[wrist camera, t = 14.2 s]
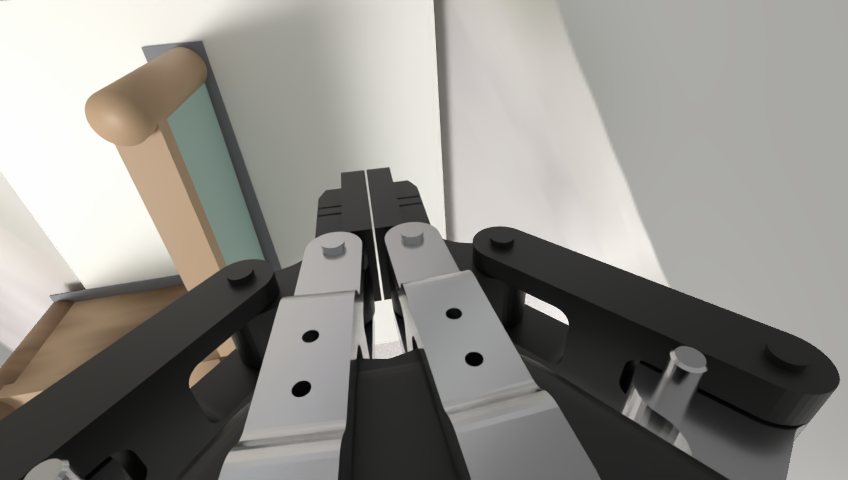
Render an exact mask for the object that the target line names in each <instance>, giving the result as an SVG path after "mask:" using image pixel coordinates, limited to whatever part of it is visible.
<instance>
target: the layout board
mask: <svg viewBox="0 0 848 480" xmlns="http://www.w3.org/2000/svg"><path fill="white" fill-rule="evenodd" d="M175 47H184V48H188V49H191V50H193V51H194V52H196V53H197V54H198V55H199V56H200V57H201V58H202V59H203V61H204V62H205V64H206V67H207V79H206V81H205V85H206V88H207V91H208V94H209V97H210V99H211V102H212V105H213V108H214V111H215V114H216V117H217V120H218V123H219V126H220V129H221V132H222V135H223V138H224V141H225V144H226V147H227V150H228V153H229V156H230V158H231V161H232V164H233V167H234V170H235V173H236V176H237V179H238V182H239V185H240V188H241V191H242V194H243V197H244V200H245V203H246V206H247V209H248V212H249V214H250V217H251V220H252V223H253V226H254V229H255V232H256V235H257V238H258V241H259V244H260V247H261V250H262V253H263V256H264V259H265V261H267V262H268V263H270V264H271V265H272V267H273V270H274V272H275V271H277V270H280V269H283V268H286V267H289V266H292V265H294V264H296V263H298V262H300V261H302V260H303V256H304V252H305V249H306V247H307V245H308V244H309V243H310V242H311V241H312V240H314V239H315V233H316V221H317V210H318V199H319V197H320V196H321V195H322V194H323V193H324V192H325V191H326V190H331V189H339V188H341V173H342V172H351V171H360V170H364V172H365V179H366V186H367V193H368V200H369V207H370V215H371V222H372V229H373V237H374V245H375V252H376V260H377V268H378V275H379V283H380V291H381V298H382V301H375V302H374V303H375V314H374V321H375V345H378V344H383V343H389V342H394V341H400V340H399V336H398V332H397V329H396V325H395V320H394V312H393V305H392V299H388V300H384V295H383V288H382V280H381V273H380V266H379V259H378V251H377V244H376V237H375V229H374V222H373V215H372V207H371V200H370V193H369V185H368V178H367V171H366V170H368V169H376V168H385V167H389V168H390V172H391V175H392V179H393V182H397V181H406V180H408V181H410V182H411V183H413V184H414V185H415V186H417V188H418V191H419V193H420V197H421V199H422V202H423V205H424V207H425V210H426V213H427V216H428V219H429V222H430V224H431V225H432V226H434V227H435V228H436V229H437V230H438V231H439V233H440V235H441V236H442V238H443V239H445V240H446V225H445V207H444V188H443V170H442V151H441V132H440V114H439V95H438V77H437V58H436V40H435V21H434V2H433V0H2V1H0V171H1V172H2V173H3V175H4V176H5V178H6V179H7V180H8V182H9V183H10V185H11V186H12V187H13V189H14V190H15V191H16V193H17V194H18V196H19V197H20V198H21V200H22V201H23V203H24V204H25V205H26V207H27V208H28V209H29V211H30V212H31V214H32V215H33V216H34V218H35V219H36V221H37V222H38V223H39V225H40V226H41V228H42V229H43V230H44V232H45V233H46V234H47V236H48V237H49V239H50V240H51V241H52V243H53V244H54V246H55V247H56V248H57V250H58V251H59V252H60V254H61V255H62V257H63V258H64V259H65V261H66V262H67V264H68V265H69V266H70V268H71V269H72V271H73V272H74V273H75V275H76V276H77V277H78V279H79V280H80V282H81V283H82V284H83V286H84V287H85V289H86V290H80V291H73V292H67V293H61V294H55V295H50V298H51V299H52V300H53V301H54V302H56V301H59V300H71V301H74V302H77V301H83V300H90V299H96V298H102V297H108V296H114V295H121V294H127V293H133V292H139V291H145V290H151V289H158V288H164V287H170V286H176V285H182V284H184V283H183V281H182V279H181V277H180V275H179V273H178V271H177V269H176V267H175V265H174V263H173V261H172V259H171V257H170V255H169V253H168V251H167V249H166V247H165V245H164V243H163V241H162V239H161V237H160V235H159V233H158V231H157V229H156V227H155V225H154V223H153V221H152V219H151V217H150V215H149V213H148V211H147V209H146V207H145V205H144V203H143V201H142V199H141V197H140V195H139V193H138V191H137V189H136V187H135V185H134V182H133V180H132V178H131V176H130V174H129V172H128V170H127V168H126V166H125V164H124V162H123V160H122V158H121V156H120V154H119V152H118V150H117V148H116V146H115V144H113V143H110V142H108V141H106V140H105V139H103V138H102V137H100V136H99V135H98V134H97V133H96V132H95V131H94V130H93V129H92V128H91V126H90V125H89V123H88V121H87V119H86V116H85V104H86V101H87V99H88V98H89V97H90V96H91V95H92V94H94V93H95V92H97V91H99V90H101V89H102V88H104V87H106V86H108V85H109V84H111V83H113V82H115V81H116V80H118V79H120V78H122V77H123V76H125V75H127V74H129V73H130V72H132V71H134V70H136V69H137V68H139V67H141V66H143V65H144V64H146V63H148V62H150V61H151V60H153V59H155V58H157V57H158V56H160V55H162V54H164V53H165V52H167V51H169V50H171V49H173V48H175Z"/></svg>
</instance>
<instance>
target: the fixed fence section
mask: <svg viewBox="0 0 848 480" xmlns="http://www.w3.org/2000/svg"><path fill="white" fill-rule="evenodd" d="M187 292H188V291H187V289H186V287H185V285H184V284H182V285H176V286H170V287H164V288H158V289H151V290H145V291H139V292H133V293H127V294H121V295H114V296H108V297H102V298H96V299H90V300H83V301H77V302H74V301H71V300H59V301H56V302H54V303H53V304H52V305H51V306H50V308H49V309H48V310H47V311H46V313H45V314H44V315H43V316H42V318H41V319H40V320H39V321H38V322H37V324H36V325H35V326H34V327H33V329H32V330H31V331H30V332H29V334H28V335H27V336H26V337H25V338H24V340H23V341H22V342H21V343H20V345H19V346H18V347H17V348H16V349H15V351H14V352H13V353H12V354H11V356H10V357H9V358H8V359H7V361H6V362H5V363H4V364H3V365H2V367H1V368H0V420H2V419H3V418H4V417H6V416H7V415H9V414H10V413H12V412H13V411H15V410H16V409H18V408H19V407H21V406H22V405H23V404H25V403H26V402H28V401H29V400H31V399H32V398H34V397H35V396H37V395H38V394H40V393H41V392H42V391H44V390H45V389H47V388H48V387H50V386H51V385H53V384H54V383H56V382H57V381H59V380H60V379H61V378H63V377H64V376H66V375H67V374H69V373H70V372H72V371H73V370H75V369H76V368H78V367H79V366H80V365H82V364H83V363H85V362H86V361H88V360H89V359H91V358H92V357H94V356H95V355H97V354H98V353H99V352H101V351H102V350H104V349H105V348H107V347H108V346H110V345H111V344H113V343H114V342H116V341H117V340H118V339H120V338H121V337H123V336H124V335H126V334H127V333H129V332H130V331H132V330H133V329H135V328H136V327H137V326H139V325H140V324H142V323H143V322H145V321H146V320H148V319H149V318H151V317H152V316H154V315H155V314H156V313H158V312H159V311H161V310H162V309H164V308H165V307H167V306H168V305H170V304H171V303H173V302H174V301H175V300H177V299H178V298H180V297H181V296H183V295H184V294H186V293H187ZM225 357H226V356H224V357H220V355H219V353H218V351H217V349H216V350H214V351H213V352H212V353H211V354H210V355H209V356H207V357H206V358H205V359H204V360H203V361H201V362H200V363H199V364H198V365H197V366H196V367H195V369H194V370H193V372H192V374H191V376H190V379H189V387H192V386H193V385H195V384H196V383H197V382H198V381H199V380H200V379H201V378H203V377H204V376H205V375H206V374H207V373H208V372H209V371H211V370H212V369H213V368H214V367H215V366H216V365H217V364H219V363H220V362H221V361H222V360H223V359H224V358H225Z"/></svg>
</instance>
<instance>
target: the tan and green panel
mask: <svg viewBox="0 0 848 480" xmlns="http://www.w3.org/2000/svg"><path fill="white" fill-rule="evenodd" d="M206 79H207V67H206V64H205V62H204V61H203V59H202V58H201V57H200V56H199V55H198V54H197V53H196V52H194V51H193V50H191V49H188V48H184V47H175V48H173V49H171V50H169V51H167V52H165V53H164V54H162V55H160V56H158V57H157V58H155V59H153V60H151V61H150V62H148V63H146V64H144V65H143V66H141V67H139V68H137V69H136V70H134V71H132V72H130V73H129V74H127V75H125V76H123V77H122V78H120V79H118V80H116V81H115V82H113V83H111V84H109V85H108V86H106V87H104V88H102V89H101V90H99V91H97V92H95V93H94V94H92V95H91V96H90V97H89V98H88V99H87V101H86V104H85V116H86V119H87V121H88V123H89V125H90V126H91V128H92V129H93V130H94V131H95V132H96V133H97V134H98V135H99V136H100V137H102V138H103V139H105V140H106V141H108V142H110V143H113V144H115V146H116V148H117V150H118V152H119V154H120V156H121V158H122V160H123V162H124V164H125V166H126V168H127V170H128V172H129V174H130V176H131V178H132V180H133V182H134V185H135V187H136V189H137V191H138V193H139V195H140V197H141V199H142V201H143V203H144V205H145V207H146V209H147V211H148V213H149V215H150V217H151V219H152V221H153V223H154V225H155V227H156V229H157V231H158V233H159V235H160V237H161V239H162V241H163V243H164V245H165V247H166V249H167V251H168V253H169V255H170V257H171V259H172V261H173V263H174V265H175V267H176V269H177V271H178V273H179V275H180V277H181V279H182V281H183V283H184V285H185V287H186V289H187V291H188V292H189V291H190V290H192V289H193V288H194V287H196V286H197V285H199V284H200V283H202V282H203V281H205V280H206V279H208V278H209V277H211V276H212V275H213V274H215V273H216V272H218V271H219V270H221V269H222V268H224V267H226V266H228V265H230V264H232V263H235V262H238V261H242V260H248V259H260V260H264V261H265V259H264V256H263V253H262V250H261V247H260V244H259V241H258V238H257V235H256V232H255V229H254V226H253V223H252V220H251V217H250V214H249V212H248V209H247V206H246V203H245V200H244V197H243V194H242V191H241V188H240V185H239V182H238V179H237V176H236V173H235V170H234V167H233V164H232V161H231V158H230V156H229V153H228V150H227V147H226V144H225V141H224V138H223V135H222V132H221V129H220V126H219V123H218V120H217V117H216V114H215V111H214V108H213V105H212V102H211V99H210V97H209V94H208V91H207V88H206V85H205V81H206ZM234 349H236V347H235V344H234V342H233V340H232V338H231V337H230V338H229V339H228V340H226V341H225V342H224V343H223V344H222V345H220V346H219V347H218V348H217V351H218V353H219V355H220V357H224V356H228V355H229V354H230V353H231V352H232V351H233V350H234Z"/></svg>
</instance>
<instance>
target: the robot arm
mask: <svg viewBox="0 0 848 480" xmlns="http://www.w3.org/2000/svg"><path fill="white" fill-rule="evenodd" d="M366 171H367V178H368V185H369V193H370V200H371V207H372V215H373V222H374V229H375V237H376V244H377V251H378V259H379V266H380V273H381V280H382V288H383V295H384V300H388V299H392V305H393V312H394V320H395V325H396V329H397V332H398V336H399V340H400V343H401V347H402V351H403V354H401V355H399V356H396V357H393V358H390V359H375V321H374V314H375V303H374V302H375V301H382V298H381V291H380V283H379V275H378V268H377V260H376V252H375V245H374V237H373V229H372V222H371V215H370V207H369V200H368V193H367V186H366V179H365V172H364V170H360V171H351V172H342V173H341V188H339V189H331V190H326V191H325V192H324V193H323V194H322V195H321V196H320V197H319V199H318V210H317V221H316V233H315V239H314V240H312V241H311V242H310V243H309V244H308V245H307V247H306V249H305V252H304V256H303V260H302V261H300V262H298V263H296V264H294V265H292V266H289V267H286V268H283V269H280V270H277V271H275V272H274V270H273V267H272V265H271V264H270V263H268V262H267V261H264V260H260V259H248V260H242V261H238V262H235V263H232V264H230V265H228V266H226V267H224V268H222V269H221V270H219V271H218V272H216V273H215V274H213V275H212V276H211V277H209V278H208V279H206V280H205V281H203V282H202V283H200V284H199V285H197V286H196V287H194V288H193V289H192V290H190V291H189V292H187V293H186V294H184V295H183V296H181V297H180V298H178V299H177V300H175V301H174V302H173V303H171V304H170V305H168V306H167V307H165V308H164V309H162V310H161V311H159V312H158V313H156V314H155V315H154V316H152V317H151V318H149V319H148V320H146V321H145V322H143V323H142V324H140V325H139V326H137V327H136V328H135V329H133V330H132V331H130V332H129V333H127V334H126V335H124V336H123V337H121V338H120V339H118V340H117V341H116V342H114V343H113V344H111V345H110V346H108V347H107V348H105V349H104V350H102V351H101V352H99V353H98V354H97V355H95V356H94V357H92V358H91V359H89V360H88V361H86V362H85V363H83V364H82V365H80V366H79V367H78V368H76V369H75V370H73V371H72V372H70V373H69V374H67V375H66V376H64V377H63V378H61V379H60V380H59V381H57V382H56V383H54V384H53V385H51V386H50V387H48V388H47V389H45V390H44V391H42V392H41V393H40V394H38V395H37V396H35V397H34V398H32V399H31V400H29V401H28V402H26V403H25V404H23V405H22V406H21V407H19V408H18V409H16V410H15V411H13V412H12V413H10V414H9V415H7V416H6V417H4V418H3V419H2V420H0V480H786V478H787V473H788V468H789V463H790V457H791V452H792V447H793V442H794V440H795V439H796V438H797V437H798V435H799V434H800V433H801V431H802V430H803V429H804V428H805V427H806V425H807V424H808V423H809V422H810V420H811V419H812V418H813V417H814V415H815V414H816V413H817V412H818V411H819V409H820V408H821V407H822V406H823V404H824V403H825V402H826V401H827V399H828V398H829V397H830V395H831V394H832V393H833V392H834V391H835V389H836V388H837V386H838V384H839V381H840V378H839V373H838V371H837V369H836V367H835V365H834V364H833V363H832V361H831V360H830V359H829V358H828V357H827V356H826V355H825V354H824V353H822V352H821V351H820V350H819V349H817V348H816V347H815V346H813V345H811V344H810V343H808V342H806V341H805V340H803V339H801V338H798V337H796V336H794V335H792V334H789V333H787V332H784V331H781V330H779V329H776V328H773V327H771V326H768V325H765V324H763V323H760V322H758V321H755V320H752V319H750V318H747V317H745V316H742V315H739V314H737V313H734V312H731V311H729V310H726V309H724V308H721V307H718V306H716V305H713V304H710V303H708V302H705V301H703V300H700V299H697V298H695V297H692V296H690V295H687V294H684V293H682V292H679V291H677V290H674V289H671V288H669V287H666V286H664V285H661V284H658V283H656V282H653V281H650V280H648V279H645V278H643V277H640V276H637V275H635V274H632V273H630V272H627V271H624V270H622V269H619V268H616V267H614V266H611V265H609V264H606V263H603V262H601V261H598V260H595V259H593V258H590V257H588V256H585V255H582V254H580V253H577V252H575V251H572V250H569V249H567V248H564V247H561V246H559V245H556V244H554V243H551V242H548V241H546V240H543V239H541V238H538V237H535V236H533V235H530V234H527V233H525V232H522V231H520V230H517V229H514V228H510V227H490V228H486V229H484V230H481V231H480V232H478V233H477V234H476V235H475V236H474V238H473V243H458V242H452V241H448V240H445V239H443V238H442V236H441V235H440V233H439V231H438V230H437V229H436V228H435V227H434V226H432V225H431V224H430V222H429V219H428V216H427V213H426V210H425V207H424V205H423V202H422V199H421V197H420V193H419V191H418V188H417V186H415V185H414V184H413V183H411V182H410V181H408V180H406V181H397V182H393V179H392V175H391V172H390V168H389V167H385V168H376V169H368V170H366ZM526 293H527V294H530V295H532V296H534V297H536V298H538V299H540V300H542V301H544V302H546V303H548V304H551V305H553V306H555V307H557V308H558V309H560V310H561V311H562V312H563V313H564V314H565V315H566V317H567V319H568V321H569V326H568V325H566V324H564V323H562V322H560V321H558V320H556V319H554V318H552V317H550V316H548V315H546V314H544V313H542V312H540V311H538V310H536V309H534V308H532V307H530V306H528V305H526V304H525V295H526ZM230 337H231V338H232V340H233V342H234V344H235V347H236V349H234V350H233V351H232V352H231V353H230V354H229V355H228V356H226V357H225V358H224V359H223V360H222V361H221V362H220V363H219V364H217V365H216V366H215V367H214V368H213V369H212V370H211V371H209V372H208V373H207V374H206V375H205V376H204V377H203V378H201V379H200V380H199V381H198V382H197V383H196V384H195V385H193V386H192V387H191V388H190V387H189V379H190V376H191V374H192V372H193V370H194V369H195V367H196V366H197V365H198V364H199V363H200V362H201V361H203V360H204V359H205V358H206V357H207V356H209V355H210V354H211V353H212V352H213V351H214V350H216V349H217V348H218V347H219V346H220V345H222V344H223V343H224V342H225V341H226V340H228V339H229V338H230Z"/></svg>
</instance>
